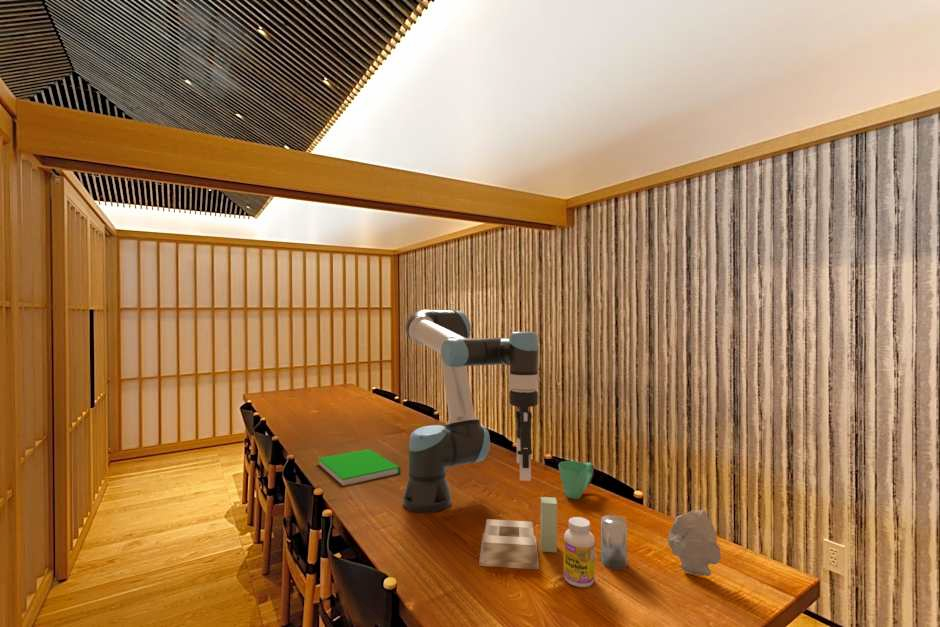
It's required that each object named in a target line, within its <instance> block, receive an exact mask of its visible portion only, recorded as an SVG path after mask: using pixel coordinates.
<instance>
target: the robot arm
mask: <svg viewBox="0 0 940 627" xmlns="http://www.w3.org/2000/svg"><path fill="white" fill-rule="evenodd" d="M471 327H472V326H471V322H470V319H469V318H468V315H466V313H464V312H463V311H460V310H453V309H448V310H447V309H446V310H445V309H444V310H443V309H421V310H418V311H416V312H413V313H412V314H410V316H409V317H408V319H407V320H406V323H405V325H404V329H405V334H406V336H407V337H408V338H409V340H411V341H412V342H414V343H416V344H419V345H422V344H423V345H425V346H426V347H429V348H430V349H432V350H433V351H435V352H437V353H439V354H440V362H441V363H440V364H441V368H442V376H443V382H444V383H443V384H444V392H445V397H446V403H447V405H446V406H447V410H448V411H447V412H448V420H447V422H446V423H445V426H444V425H441V424H435V425H425V426H421V427H419V428H416V429H414V430H413V431H411V434H410V435H409V445H408V454H409V455H408V456H409V458H408V459H409V460H408V479H407V483H406V487H405V490H404V493H403V496H402V505H403V507H404V508H405V509H406V510H409V511H411V512H414V513H420V514H421V513H422V514H423V513H424V514H428V513H431V514H432V513H437V512H440V511H443V510H446V509H447V508H448V507H450V505H451V504H452V494H451V490H450V487H449V484H448V481H447V476H446V475H447V472H446V471H447V468H449V467H450V468H451V467H456V466H457V467H458V466H462V465H469V464H470V465H471V464H475V463H479V462H481V461H484V460H485V459H486V457H487V456H488V453H489V451H490V446H491V439H490V433H489V430H488V429H487V427H486V426H485V425H483V424H481V421H480V418H479V417H477V416H476V415H475V412H474V405H473V400H472V393H471V386H470V380H469V375H468V368H467V367H473V366H476V367H477V366H497V365H498V366H499V365H500V366H501V365H502V366H503V365H504V366H509V375H508V377H509V378H508V379H509V386H508V387H509V389H510V391H509V393H508V394H509V398H508V400H509V402H508V403H509V404H510V405H511V406H513V407H517V409H516V410H515V417H516V421H515V422H516V423H515V424H516V430H515V432H516V464H519V481H523V482H529V481H530V482H532V453H533V450H532V418H533V417H532V414H533V413H532V412H531V410H530V409H529V408H530V407H532V408H533V407H536V406H538V403H539V392H538V391H537V390H538V388H539V383H538V382H540V381H541V378H540V377H539V348H540V346H539V340H538V339H539V338H538V337H539V336H538V334H537V333H536V332H534V331H511V332H510V334H509V338H505V337H501V336H500V337H492V338H491V337H490V338H488V337H487V338H486V337H485V338H484V337H481V338H479V337H478V338H470V337H471V332H472V328H471Z"/></svg>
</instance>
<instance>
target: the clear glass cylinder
mask: <svg viewBox="0 0 940 627" xmlns="http://www.w3.org/2000/svg"><path fill="white" fill-rule="evenodd" d="M600 523H601V524H600V540H601V541H600V562H601V564H602V565H603V566H604V567H606V568H609V569H611V570H614V571H615V570H617V571H621V570H624V569H626V567H627V563H628V562H627V554H628V553H627V552H628V551H627V550H628V549H627V544H628V542H627V539H628V538H627V535H628V533H627V531H628V527H627V526H628V525H627V520H626V519H625V518H623V517H621V516H617V515H613V514H605V515H603V516H602V517H601V519H600Z"/></svg>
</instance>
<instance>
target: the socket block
mask: <svg viewBox="0 0 940 627" xmlns="http://www.w3.org/2000/svg"><path fill="white" fill-rule="evenodd" d="M478 566H479V567H496V568H509V569H510V568H511V569H522V570H523V569H525V570H526V569H527V570H540V562H539V554H538V545H537V537H536V535H534V526H533V521H525V520H510V519H507V520H506V519H493V518H492V519H489V518H487V519H486V521H485V529H484V532H483V533H482V538H481V546H480V554H479V561H478Z"/></svg>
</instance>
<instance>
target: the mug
mask: <svg viewBox="0 0 940 627" xmlns="http://www.w3.org/2000/svg"><path fill="white" fill-rule="evenodd" d="M558 471H559V476H560V480H561V485H562V489H563V491H564V493H565V496H566V497H567V498H569V499H571V500H572V499H573V500H577V499H580V498H581V497H582V495H583V493H584V491H585V490H586V489H587V488H588V487H589V486H590V484H591V482H592V480H593V478H594V476H595V467H594V465H593V464H592V462H585V463H584V462H581V461H575V460H573V461H572V460H565V461H560V462H559V463H558Z"/></svg>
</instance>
